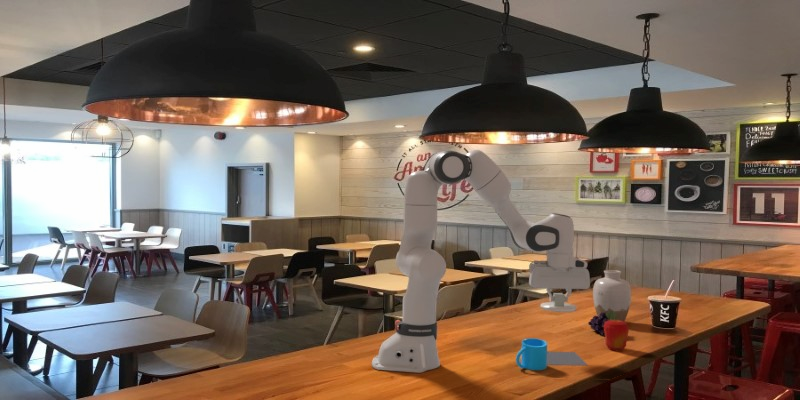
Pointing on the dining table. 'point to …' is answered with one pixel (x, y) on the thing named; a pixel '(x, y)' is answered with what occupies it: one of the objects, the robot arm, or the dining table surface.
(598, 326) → the fruit
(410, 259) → the robot arm
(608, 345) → the apple
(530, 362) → the mug
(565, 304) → the lid
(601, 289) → the vase
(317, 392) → the dining table surface
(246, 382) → the dining table surface
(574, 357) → the mat
